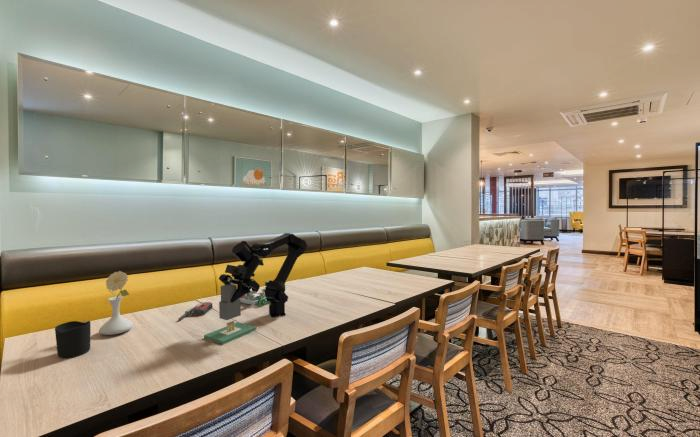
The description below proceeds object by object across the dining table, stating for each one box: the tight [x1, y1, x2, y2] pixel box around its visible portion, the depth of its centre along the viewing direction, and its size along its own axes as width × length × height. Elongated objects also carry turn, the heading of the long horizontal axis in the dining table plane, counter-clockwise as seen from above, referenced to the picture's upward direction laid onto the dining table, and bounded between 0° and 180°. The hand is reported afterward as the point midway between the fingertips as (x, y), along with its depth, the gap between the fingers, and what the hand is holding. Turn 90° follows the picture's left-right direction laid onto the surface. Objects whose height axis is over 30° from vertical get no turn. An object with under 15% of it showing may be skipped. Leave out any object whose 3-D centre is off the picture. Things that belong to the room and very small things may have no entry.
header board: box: [203, 320, 257, 345], centre depth 131 cm, size 16×11×5 cm
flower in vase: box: [98, 270, 134, 336], centre depth 132 cm, size 13×11×25 cm
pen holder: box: [54, 320, 91, 359], centre depth 114 cm, size 9×9×10 cm
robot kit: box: [239, 280, 270, 307], centre depth 177 cm, size 19×25×9 cm
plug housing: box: [218, 284, 242, 321], centre depth 130 cm, size 7×4×12 cm
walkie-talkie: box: [178, 301, 213, 321], centre depth 154 cm, size 9×4×20 cm
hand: (227, 301), depth 129 cm, fingers closed on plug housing, 4 cm apart
